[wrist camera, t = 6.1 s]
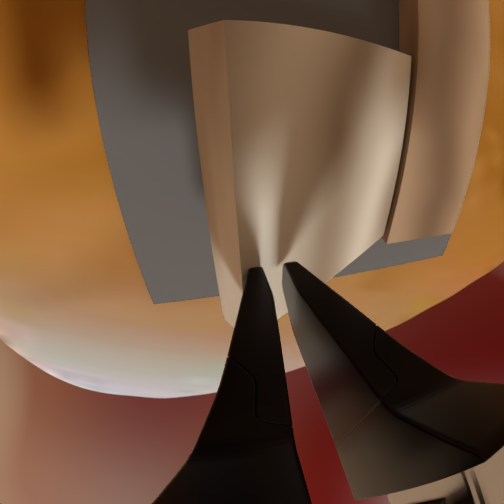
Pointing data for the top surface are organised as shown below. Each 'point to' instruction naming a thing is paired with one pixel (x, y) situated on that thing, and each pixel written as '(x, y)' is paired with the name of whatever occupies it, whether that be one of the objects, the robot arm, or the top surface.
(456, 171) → the light brown plank
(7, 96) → the top surface
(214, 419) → the robot arm
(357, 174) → the beige flat square block
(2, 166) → the top surface
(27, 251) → the top surface
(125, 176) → the underlay
